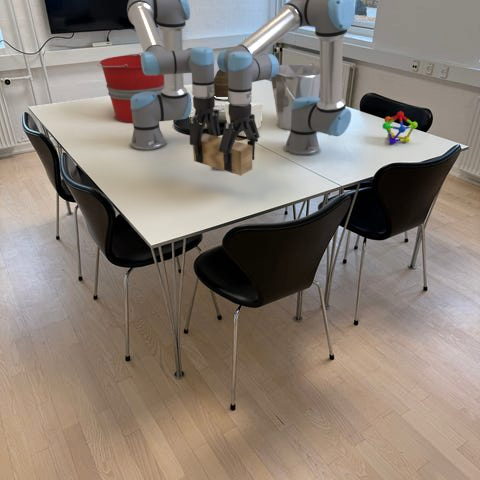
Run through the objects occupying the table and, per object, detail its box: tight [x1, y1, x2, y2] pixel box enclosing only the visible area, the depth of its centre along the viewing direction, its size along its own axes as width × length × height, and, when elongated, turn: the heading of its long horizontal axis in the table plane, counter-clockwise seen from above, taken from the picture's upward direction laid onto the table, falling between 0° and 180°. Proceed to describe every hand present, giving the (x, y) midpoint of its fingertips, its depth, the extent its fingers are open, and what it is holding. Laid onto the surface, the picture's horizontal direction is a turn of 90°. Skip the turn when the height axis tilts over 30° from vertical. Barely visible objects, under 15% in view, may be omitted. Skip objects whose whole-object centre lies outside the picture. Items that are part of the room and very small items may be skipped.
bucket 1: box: [96, 52, 164, 124], centre depth 238 cm, size 35×35×30 cm
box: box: [192, 132, 253, 176], centre depth 158 cm, size 22×7×9 cm, turn 53°
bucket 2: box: [270, 63, 320, 131], centre depth 226 cm, size 30×30×28 cm
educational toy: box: [382, 110, 418, 145], centre depth 207 cm, size 16×13×15 cm
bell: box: [214, 68, 229, 97], centre depth 278 cm, size 19×26×20 cm
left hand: (206, 159), depth 164 cm, fingers closed on box, 7 cm apart
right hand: (239, 164), depth 156 cm, fingers open, 13 cm apart
